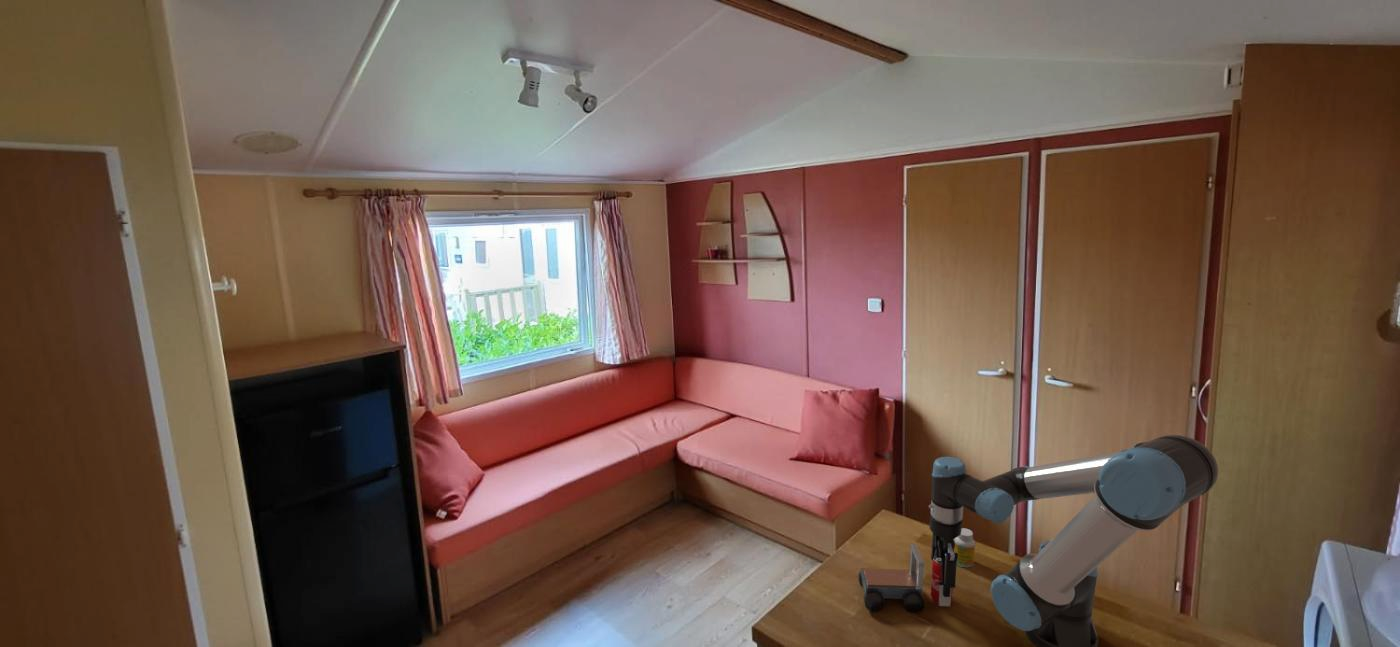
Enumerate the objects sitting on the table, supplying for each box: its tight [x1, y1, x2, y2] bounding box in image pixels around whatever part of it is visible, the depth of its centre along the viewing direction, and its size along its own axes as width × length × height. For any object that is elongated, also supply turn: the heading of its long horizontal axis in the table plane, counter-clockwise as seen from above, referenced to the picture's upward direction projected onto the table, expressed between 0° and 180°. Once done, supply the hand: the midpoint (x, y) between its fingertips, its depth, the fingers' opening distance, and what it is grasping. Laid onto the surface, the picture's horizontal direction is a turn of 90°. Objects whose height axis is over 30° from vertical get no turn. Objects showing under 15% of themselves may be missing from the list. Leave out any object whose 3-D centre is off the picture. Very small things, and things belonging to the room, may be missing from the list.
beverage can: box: [930, 554, 954, 606], centre depth 158 cm, size 5×5×12 cm
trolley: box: [857, 543, 926, 614], centre depth 159 cm, size 15×11×14 cm
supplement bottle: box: [953, 527, 976, 568], centre depth 173 cm, size 5×5×10 cm
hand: (941, 597), depth 159 cm, fingers closed on beverage can, 5 cm apart
